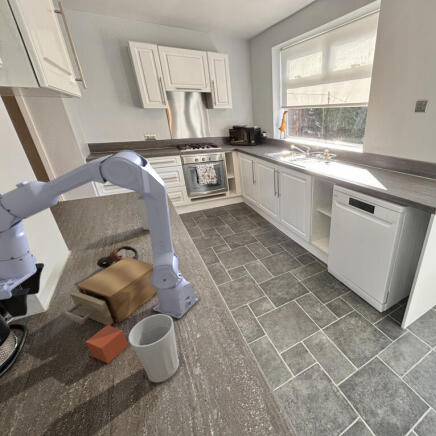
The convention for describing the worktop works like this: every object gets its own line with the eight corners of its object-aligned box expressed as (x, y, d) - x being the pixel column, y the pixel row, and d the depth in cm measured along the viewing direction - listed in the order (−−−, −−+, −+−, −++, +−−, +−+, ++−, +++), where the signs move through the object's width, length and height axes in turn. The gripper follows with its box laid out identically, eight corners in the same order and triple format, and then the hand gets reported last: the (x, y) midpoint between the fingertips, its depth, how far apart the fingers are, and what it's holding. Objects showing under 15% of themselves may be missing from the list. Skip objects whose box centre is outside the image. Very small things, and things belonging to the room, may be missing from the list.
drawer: (92, 339, 59) (81, 317, 56) (61, 326, 62) (50, 305, 59) (152, 292, 74) (146, 273, 71) (125, 283, 77) (118, 265, 74)
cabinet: (119, 322, 64) (110, 296, 61) (87, 310, 68) (76, 285, 64) (162, 288, 77) (156, 264, 73) (133, 279, 81) (126, 256, 77)
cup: (188, 351, 57) (179, 313, 52) (174, 386, 50) (162, 346, 45) (154, 351, 57) (142, 314, 52) (135, 386, 50) (119, 347, 45)
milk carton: (166, 224, 119) (158, 187, 111) (157, 230, 113) (148, 192, 105) (153, 223, 120) (144, 186, 112) (143, 229, 113) (133, 191, 105)
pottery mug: (127, 256, 94) (133, 241, 91) (139, 273, 91) (145, 258, 87) (90, 264, 84) (95, 247, 80) (101, 284, 80) (107, 267, 77)
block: (128, 345, 58) (122, 330, 56) (108, 363, 54) (101, 348, 52) (113, 339, 60) (107, 324, 58) (92, 356, 55) (85, 341, 53)
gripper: (-1, 240, 55) (15, 288, 60) (-40, 276, 44) (-16, 332, 49) (42, 237, 59) (53, 282, 63) (16, 270, 47) (33, 322, 52)
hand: (26, 303), depth 56 cm, fingers open, 7 cm apart
